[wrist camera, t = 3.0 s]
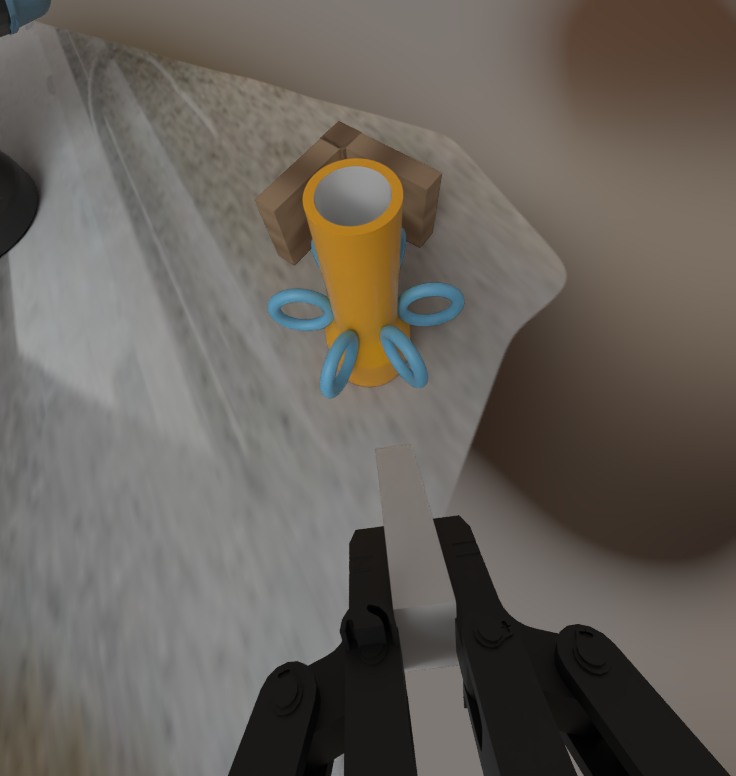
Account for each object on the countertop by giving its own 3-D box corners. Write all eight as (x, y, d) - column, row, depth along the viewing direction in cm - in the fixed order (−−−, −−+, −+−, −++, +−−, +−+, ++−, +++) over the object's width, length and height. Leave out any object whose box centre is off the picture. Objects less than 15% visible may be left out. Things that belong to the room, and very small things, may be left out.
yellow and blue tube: (470, 375, 27) (564, 228, 13) (359, 453, 25) (324, 384, 11) (380, 270, 30) (374, 64, 16) (278, 332, 29) (174, 165, 15)
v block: (435, 245, 31) (445, 187, 25) (278, 267, 31) (254, 214, 25) (418, 175, 34) (424, 108, 28) (275, 195, 34) (252, 133, 28)
